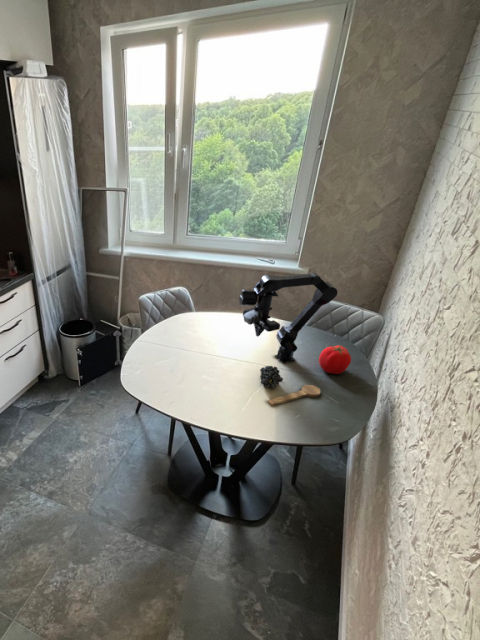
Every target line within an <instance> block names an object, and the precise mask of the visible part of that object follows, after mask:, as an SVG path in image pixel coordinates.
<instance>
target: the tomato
mask: <svg viewBox="0 0 480 640" xmlns="http://www.w3.org/2000/svg"><path fill="white" fill-rule="evenodd" d="M328 345H329V344H328ZM351 362H352V356H351V354H350V353H349V351H348V348H346V347H345V346H342V345H335V346H333V345H329V346H327V347H325V348H324V349H323V350H322V351H321V352H320V354H319V356H318V363H319V366H320V368H321V369H322V370H323V371H324V372H326V373H328V374H331V375H339V374H342V373H344V372H345V371H346V370H347V368H348V367H349V366H350V365H351Z"/></svg>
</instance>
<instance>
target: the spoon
mask: <svg viewBox="0 0 480 640" xmlns="http://www.w3.org/2000/svg"><path fill="white" fill-rule="evenodd" d="M321 391H322V390H321V389H320V388H319V387H318V386H316V385H312V384H305V385H304V384H303V386H302V388H301V390H298V391H294V392H291V393H287V394H284V395H280V396H277V397H274V398H271V399H268V400H267V403H268V404H269V405H270V406H272V407H274V406H276V405H279V404H283V403H287V402H289V401H293V400H297V399H300V398H304V397H310V398H317V397H319V396H320V395H321Z"/></svg>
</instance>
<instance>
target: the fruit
mask: <svg viewBox="0 0 480 640" xmlns="http://www.w3.org/2000/svg"><path fill="white" fill-rule="evenodd" d="M259 371H260V384H261V385H263V387H264V388H272V389H275V388H277V386H278V385H280V383H282V382H283V381H284V378H283V377H282V376H281V375H280V370H279V369H278V367H277V366H273V365H266V366H264V367H261V368H260V369H259Z"/></svg>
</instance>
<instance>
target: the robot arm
mask: <svg viewBox="0 0 480 640" xmlns="http://www.w3.org/2000/svg"><path fill="white" fill-rule="evenodd" d="M305 286H314V287H315V288H316V289H315V291H314V293H313V295H312V299H311V300H310V301H309V302H308V304H307V305H306V306H305V307H304V308H303V309H302V310H301V312H300V313H299V314H298V315H297V316H296V317H295V318H294V320H293V321H292V322H291V323H290V324H288V325H287V326H284V325H282V326H281V323H280V322H278V321H276V320H274V319H272V320H271V315H270V311H272V310H273V307H272V301H273V297H278V296H279V294H278V292H277V291H280V290H281V289H285V288H293V287H305ZM338 293H339V292H338V289H337V288H336V287H335V286H334V285H333V284H332V283H331V282H329V281H324V280H323V279H322V278H321V276H320V275H318V273H316V272H311V273H305V274H295V275H287V276H286V275H285V276H280V275H274V274H264V275H262V277H261V278H260V279H259V281H258V283H256V284H255V285H254V286H253V288H252V289H242V290H241V292H240V294H239V300H238V301H239V302H238V303H239V306H253V307H251V308H246V309H244V310H243V312H242V317H243V321H244V323H246V324H247V325H250V326H251V325H253V327H254V331H255V336H256V337H260V336H261V335H262V333H263V332H264V331H266V332H270V333H271V332H275V331H276V332H277V334H276V335H275V336H276V339H277V342H278V343H279V348H278V350H277V354H275V355H274V358H276V359H277V360H278V361H280V362H282V363H289V362H293V361H295V360H296V358H294V353H295V352H296V351H297V350H298V346H297V344H296V343H295V341H296V340H297V338H298V334H299V332H300V331H301V330H302V329H303V328H304V327H305V325H307V323H308V322H309V321H310V320H311V319H312V318H313V316H314V315H315V314H316V313H317V312H318V311H319V310H320V309H321V307H323V306H325V305H327V304H329V303H331V302H332V301H333V300H334V299H335V298H336V297H337V296H338Z"/></svg>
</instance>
